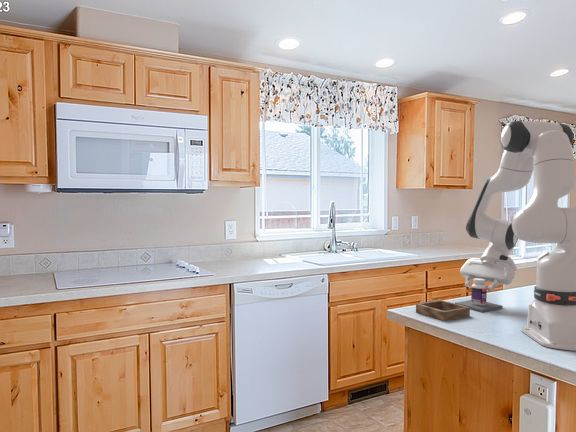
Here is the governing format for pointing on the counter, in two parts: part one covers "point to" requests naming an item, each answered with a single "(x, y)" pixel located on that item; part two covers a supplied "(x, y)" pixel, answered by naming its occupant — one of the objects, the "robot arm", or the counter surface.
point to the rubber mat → (480, 308)
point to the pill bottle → (478, 292)
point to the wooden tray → (451, 313)
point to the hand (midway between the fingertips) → (477, 288)
